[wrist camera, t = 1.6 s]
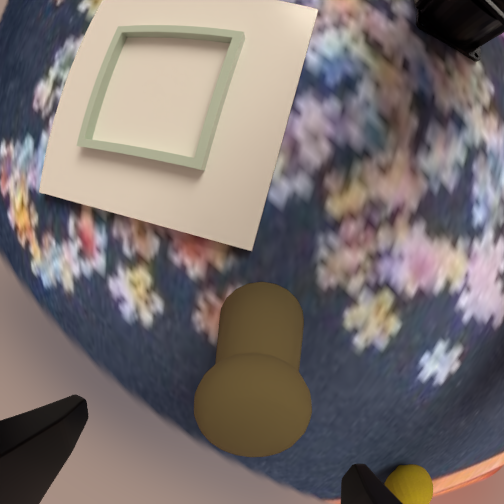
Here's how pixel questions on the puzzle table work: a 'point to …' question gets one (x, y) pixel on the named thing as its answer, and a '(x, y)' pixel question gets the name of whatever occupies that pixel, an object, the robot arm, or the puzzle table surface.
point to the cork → (256, 375)
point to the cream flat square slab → (179, 112)
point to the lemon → (410, 484)
